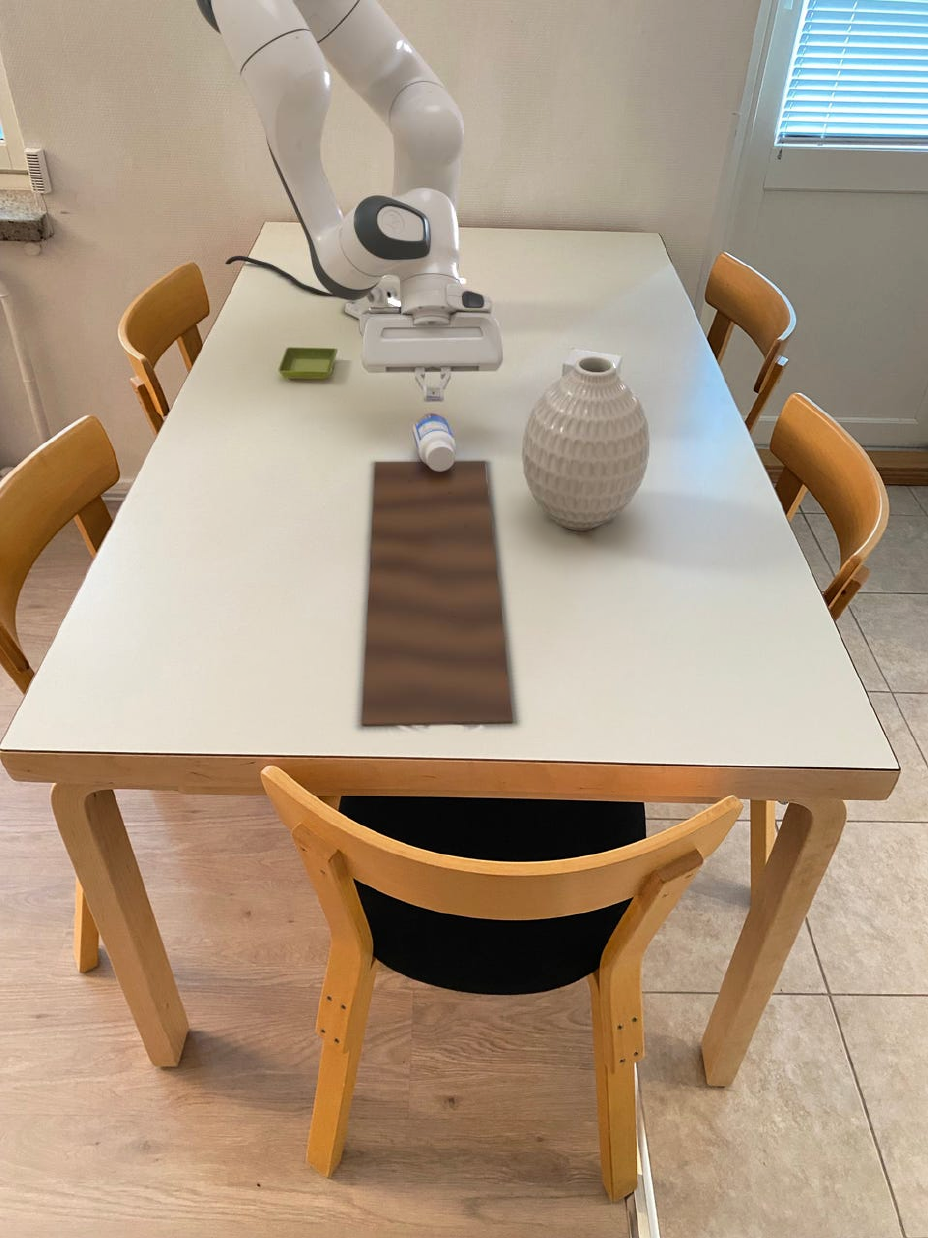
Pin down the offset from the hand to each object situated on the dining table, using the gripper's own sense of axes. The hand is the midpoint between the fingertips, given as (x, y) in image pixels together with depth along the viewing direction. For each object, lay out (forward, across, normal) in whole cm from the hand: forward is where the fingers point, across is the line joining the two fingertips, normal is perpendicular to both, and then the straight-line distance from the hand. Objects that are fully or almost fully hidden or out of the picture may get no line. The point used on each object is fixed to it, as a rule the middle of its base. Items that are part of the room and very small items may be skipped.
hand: (433, 400), depth 138 cm
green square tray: (-12, -20, +24) cm, 33 cm away
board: (+26, -1, -15) cm, 31 cm away
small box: (+1, +24, +11) cm, 26 cm away
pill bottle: (+3, 0, +5) cm, 6 cm away
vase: (+18, +19, -7) cm, 27 cm away
